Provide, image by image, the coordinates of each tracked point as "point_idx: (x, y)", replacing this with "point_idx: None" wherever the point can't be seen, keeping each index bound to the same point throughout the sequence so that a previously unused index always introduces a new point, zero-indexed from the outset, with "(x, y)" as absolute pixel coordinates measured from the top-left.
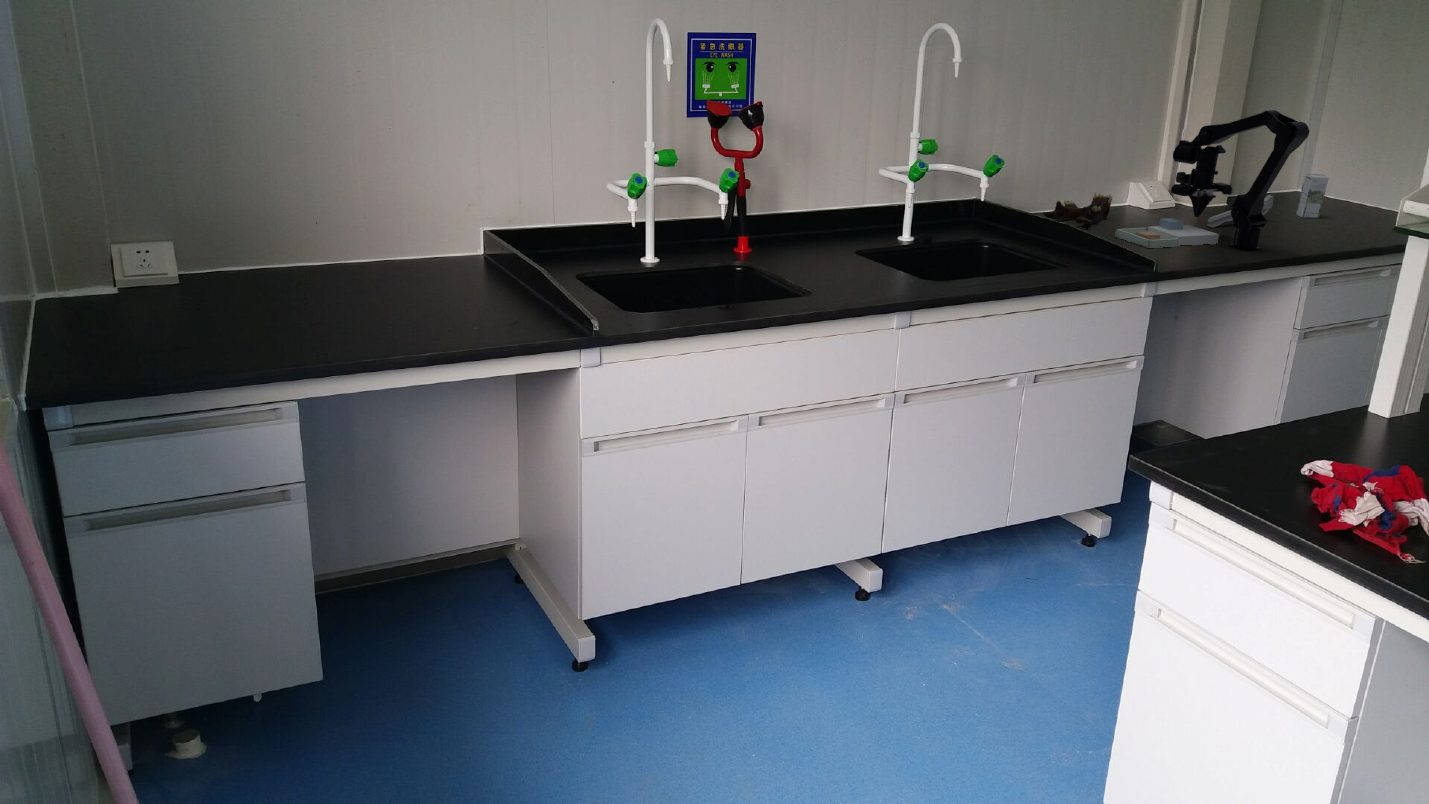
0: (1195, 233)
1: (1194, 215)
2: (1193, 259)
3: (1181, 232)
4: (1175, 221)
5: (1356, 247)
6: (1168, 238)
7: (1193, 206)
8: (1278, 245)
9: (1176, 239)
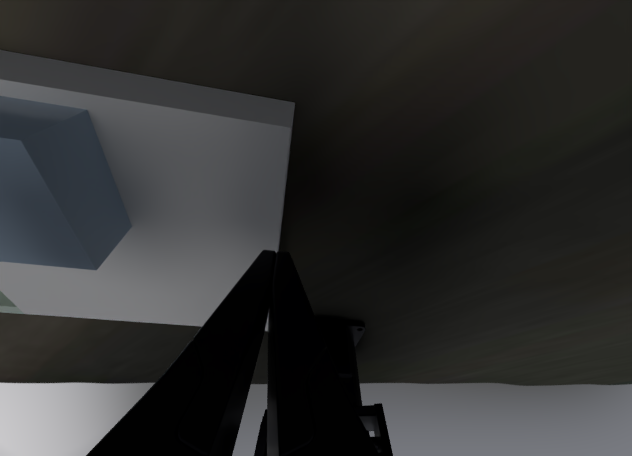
0: (160, 300)
1: (258, 256)
2: (61, 359)
3: (80, 273)
4: (2, 254)
5: (591, 379)
6: None
7: (198, 343)
8: (455, 341)
9: (17, 311)
